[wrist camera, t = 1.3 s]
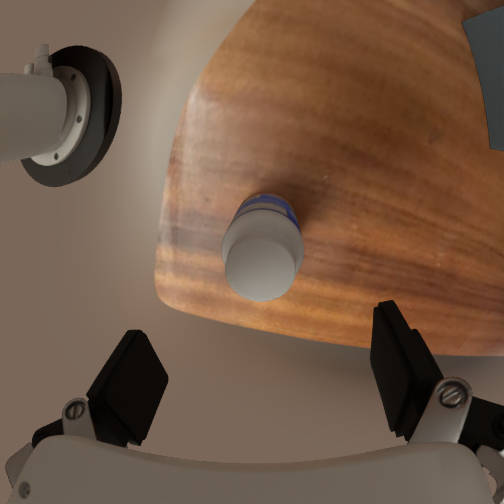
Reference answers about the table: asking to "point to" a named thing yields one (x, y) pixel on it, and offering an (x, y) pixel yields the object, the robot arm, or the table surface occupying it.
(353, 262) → the table surface
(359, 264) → the table surface
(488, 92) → the carton
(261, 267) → the pill bottle
